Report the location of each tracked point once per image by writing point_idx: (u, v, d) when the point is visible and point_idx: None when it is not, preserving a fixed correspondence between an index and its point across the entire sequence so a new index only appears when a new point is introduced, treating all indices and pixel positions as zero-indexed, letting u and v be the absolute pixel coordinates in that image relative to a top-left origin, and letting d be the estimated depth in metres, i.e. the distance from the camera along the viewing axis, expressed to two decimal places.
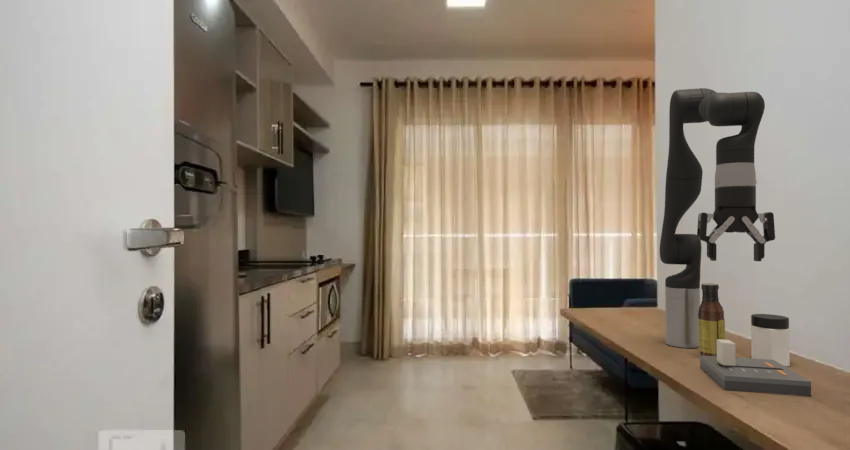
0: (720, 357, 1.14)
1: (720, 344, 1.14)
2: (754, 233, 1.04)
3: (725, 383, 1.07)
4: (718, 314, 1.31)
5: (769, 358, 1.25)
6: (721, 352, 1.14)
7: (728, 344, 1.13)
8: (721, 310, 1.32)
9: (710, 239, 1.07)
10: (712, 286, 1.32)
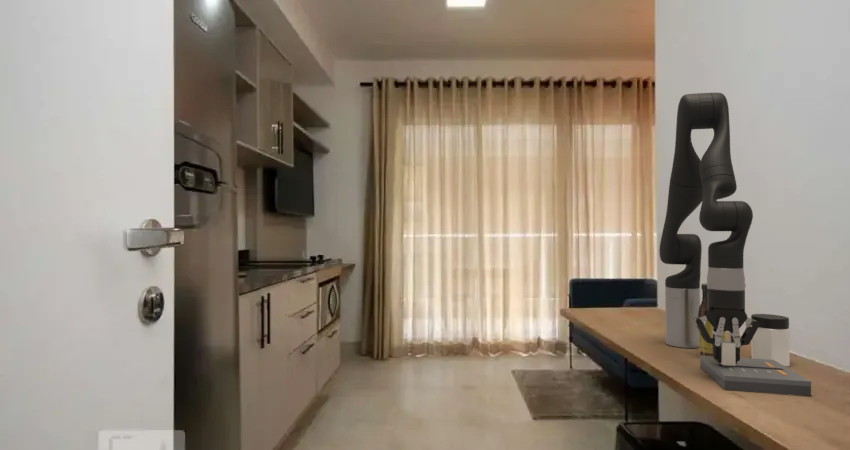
0: (721, 357, 1.14)
1: (720, 344, 1.14)
2: (735, 335, 1.13)
3: (725, 383, 1.07)
4: None
5: (769, 358, 1.25)
6: (721, 352, 1.14)
7: (728, 344, 1.13)
8: None
9: (715, 343, 1.14)
10: None
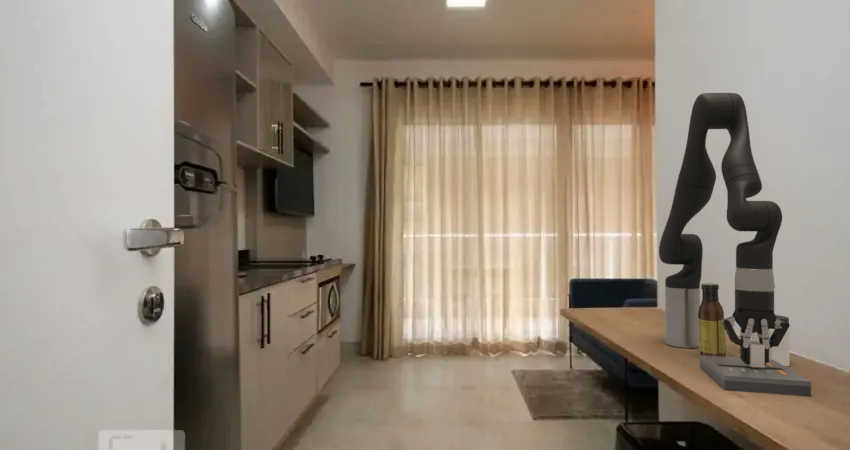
0: None
1: (749, 346, 1.13)
2: (764, 337, 1.11)
3: (725, 383, 1.07)
4: (718, 314, 1.31)
5: (769, 358, 1.25)
6: (750, 354, 1.12)
7: (757, 346, 1.11)
8: (721, 310, 1.32)
9: (744, 345, 1.13)
10: (712, 286, 1.32)
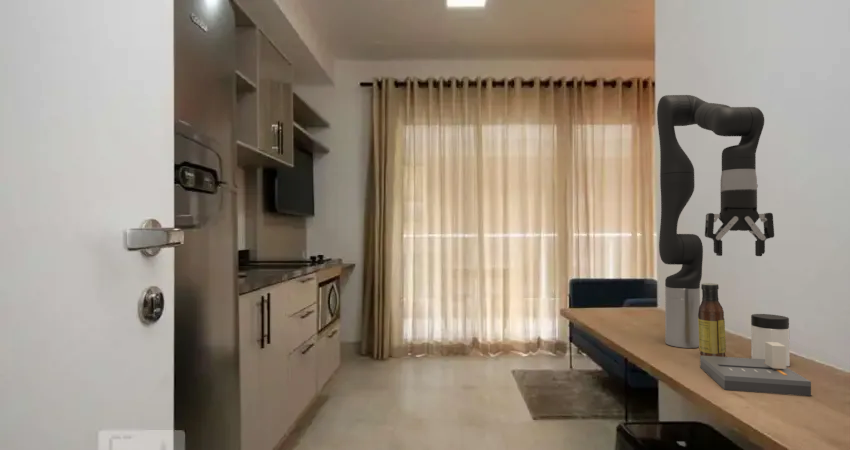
0: (770, 360, 1.12)
1: (769, 347, 1.12)
2: (755, 231, 1.18)
3: (725, 383, 1.07)
4: (718, 314, 1.31)
5: None
6: (771, 355, 1.11)
7: (778, 347, 1.10)
8: (721, 310, 1.32)
9: (716, 236, 1.21)
10: (712, 286, 1.32)
